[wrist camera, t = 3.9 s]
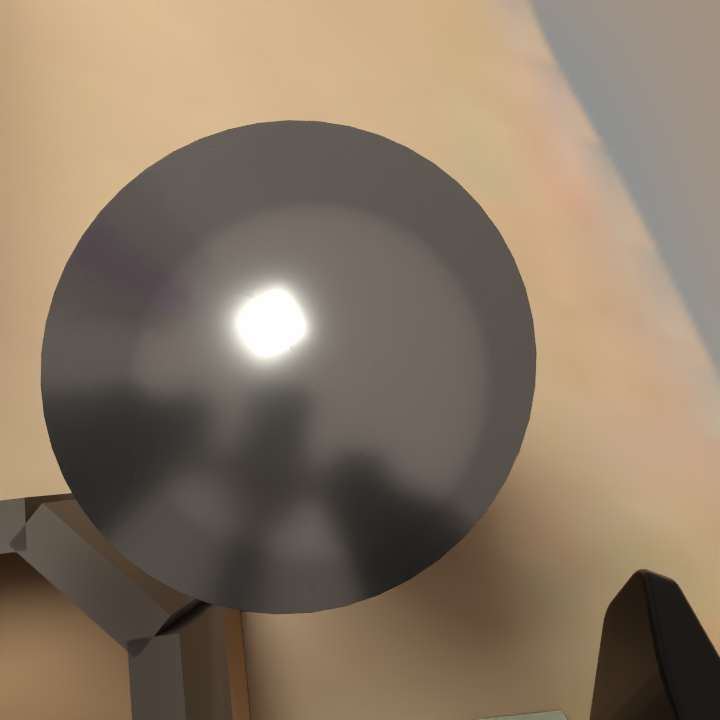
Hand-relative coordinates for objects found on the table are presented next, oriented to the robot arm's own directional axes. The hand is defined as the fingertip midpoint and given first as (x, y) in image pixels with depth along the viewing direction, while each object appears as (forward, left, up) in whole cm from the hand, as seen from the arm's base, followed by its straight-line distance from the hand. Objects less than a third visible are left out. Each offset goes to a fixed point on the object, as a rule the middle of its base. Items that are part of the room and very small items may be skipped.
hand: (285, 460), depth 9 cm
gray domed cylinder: (+1, 0, -9) cm, 9 cm away
